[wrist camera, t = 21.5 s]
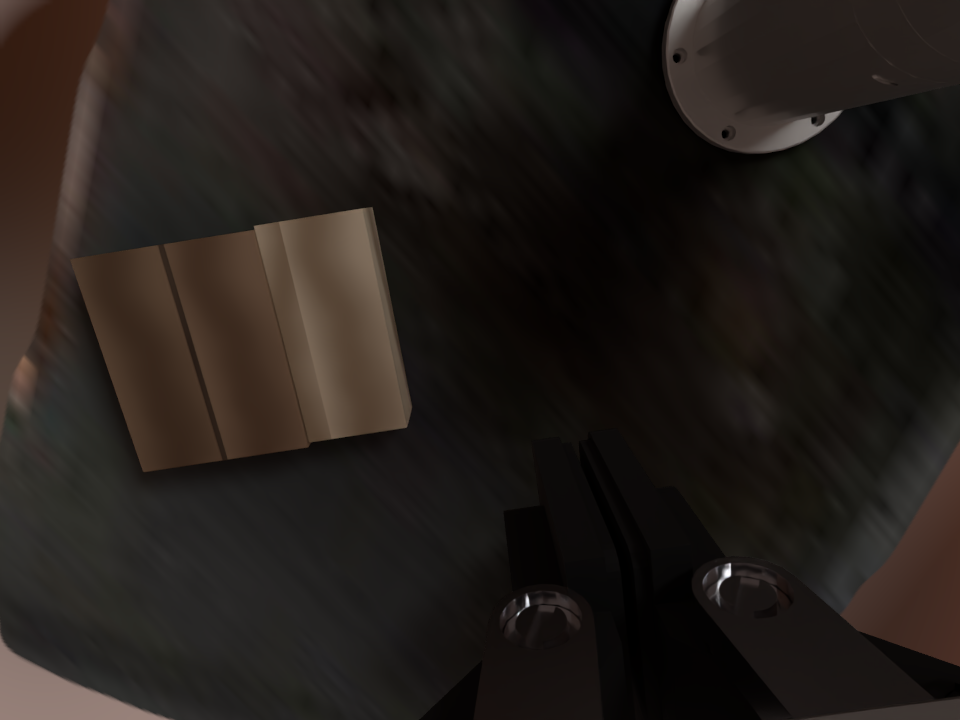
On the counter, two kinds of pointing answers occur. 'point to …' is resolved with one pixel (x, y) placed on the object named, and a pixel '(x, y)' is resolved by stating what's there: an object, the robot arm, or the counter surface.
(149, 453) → the brown grooved flat slab
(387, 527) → the counter surface
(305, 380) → the maple plank
